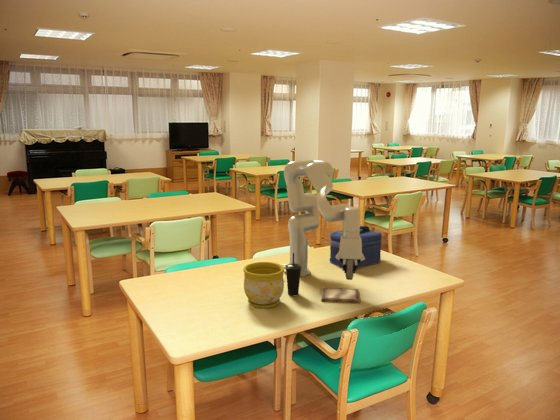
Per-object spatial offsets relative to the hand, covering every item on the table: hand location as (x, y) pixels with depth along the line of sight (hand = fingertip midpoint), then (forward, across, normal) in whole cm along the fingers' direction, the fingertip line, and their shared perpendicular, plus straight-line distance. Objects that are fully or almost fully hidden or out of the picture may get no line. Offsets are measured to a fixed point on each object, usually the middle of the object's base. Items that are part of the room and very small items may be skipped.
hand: (349, 272), depth 204 cm
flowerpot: (+11, -38, -15) cm, 42 cm away
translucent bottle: (+3, 0, 0) cm, 3 cm away
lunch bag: (+12, +5, +50) cm, 52 cm away
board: (+11, -4, -3) cm, 12 cm away
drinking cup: (+11, -26, -3) cm, 29 cm away
